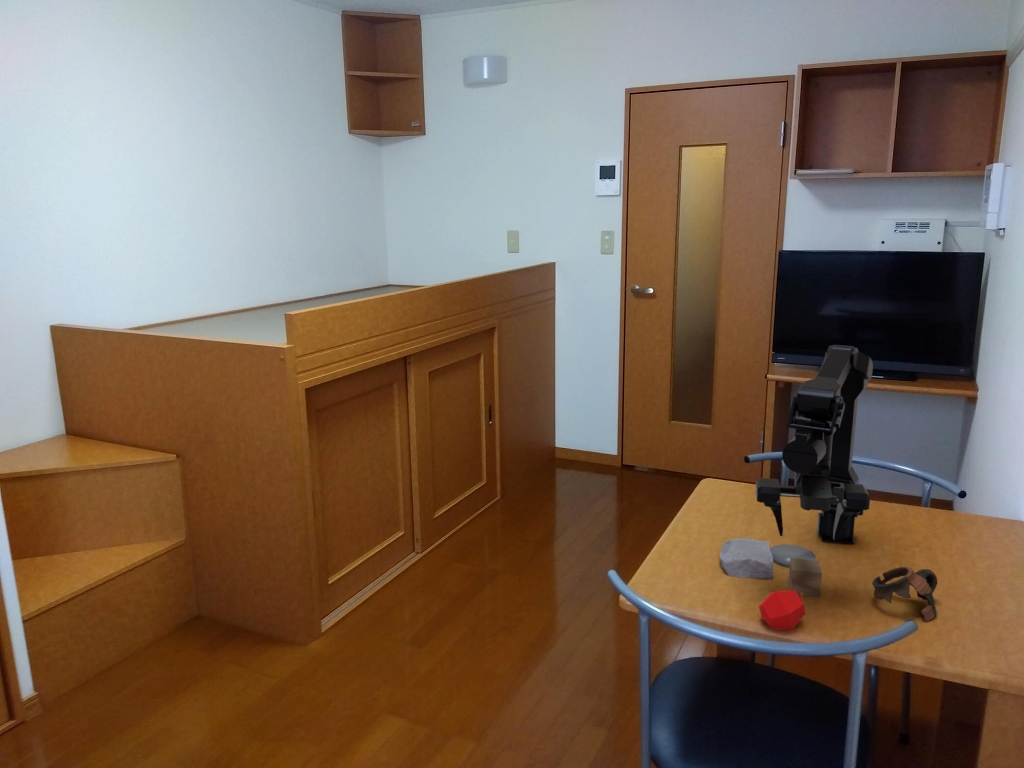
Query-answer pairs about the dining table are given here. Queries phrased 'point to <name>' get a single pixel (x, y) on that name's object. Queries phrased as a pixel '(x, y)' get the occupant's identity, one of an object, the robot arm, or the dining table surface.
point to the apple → (782, 609)
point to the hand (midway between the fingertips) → (807, 537)
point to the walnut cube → (805, 577)
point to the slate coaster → (790, 554)
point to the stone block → (747, 558)
